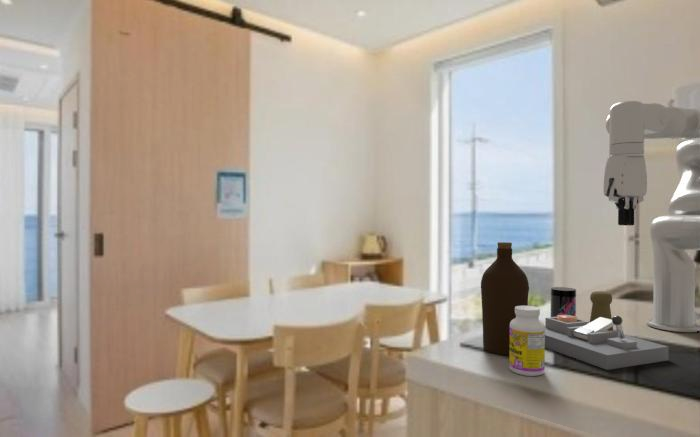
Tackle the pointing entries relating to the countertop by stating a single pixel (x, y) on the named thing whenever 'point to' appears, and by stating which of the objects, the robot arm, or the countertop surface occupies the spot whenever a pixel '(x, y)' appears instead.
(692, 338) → the countertop surface
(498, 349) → the olive oil
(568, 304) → the supplement container
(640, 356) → the panel
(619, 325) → the toggle lever
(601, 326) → the rocker
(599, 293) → the cork
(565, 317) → the button
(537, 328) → the supplement bottle
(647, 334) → the countertop surface
